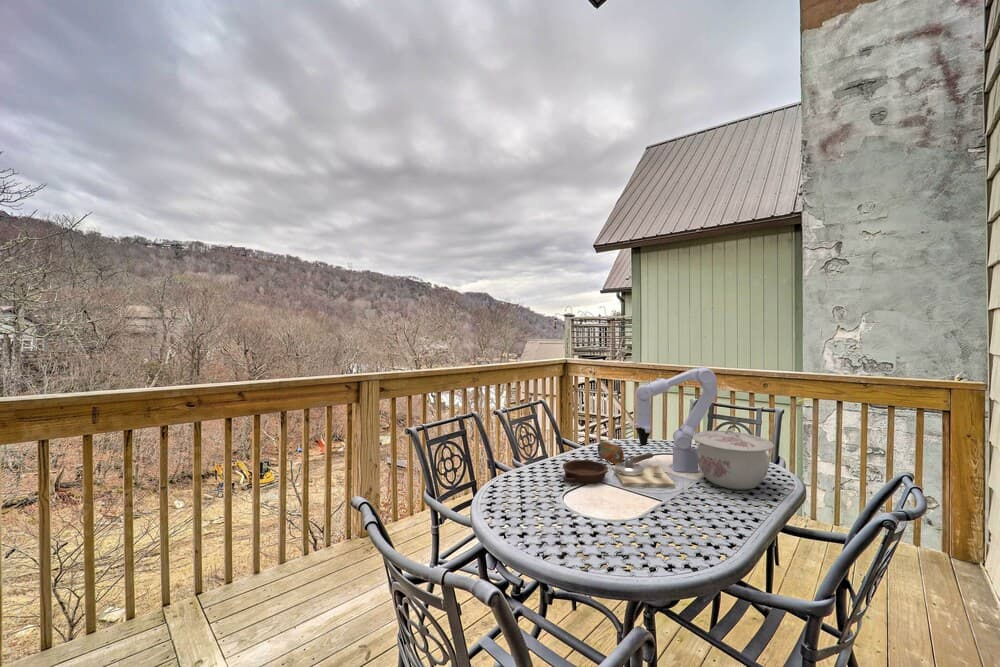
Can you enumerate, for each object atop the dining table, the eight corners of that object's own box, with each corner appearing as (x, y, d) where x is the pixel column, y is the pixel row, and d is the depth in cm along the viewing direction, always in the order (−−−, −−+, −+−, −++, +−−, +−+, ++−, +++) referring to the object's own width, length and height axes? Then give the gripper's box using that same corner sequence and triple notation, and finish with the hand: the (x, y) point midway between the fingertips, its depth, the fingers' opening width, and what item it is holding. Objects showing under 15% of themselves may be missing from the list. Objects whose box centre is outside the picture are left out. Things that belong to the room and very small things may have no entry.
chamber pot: (771, 504, 146) (771, 443, 146) (684, 486, 162) (685, 431, 162) (776, 479, 169) (776, 427, 168) (700, 466, 185) (700, 418, 184)
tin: (597, 457, 197) (597, 439, 197) (602, 456, 199) (602, 438, 198) (619, 467, 184) (619, 447, 183) (625, 466, 185) (625, 447, 185)
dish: (619, 477, 172) (619, 465, 172) (586, 492, 157) (586, 479, 157) (583, 467, 185) (584, 455, 185) (549, 479, 170) (549, 467, 170)
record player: (658, 469, 181) (658, 465, 181) (674, 487, 161) (674, 483, 161) (612, 469, 182) (612, 465, 182) (623, 486, 162) (623, 482, 162)
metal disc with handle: (630, 477, 166) (630, 464, 166) (608, 469, 176) (609, 456, 176) (663, 468, 177) (663, 456, 176) (641, 461, 186) (641, 449, 186)
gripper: (629, 410, 193) (629, 440, 193) (638, 417, 178) (638, 450, 179) (646, 410, 192) (645, 440, 193) (655, 417, 178) (655, 450, 178)
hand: (643, 445), depth 186 cm, fingers closed
